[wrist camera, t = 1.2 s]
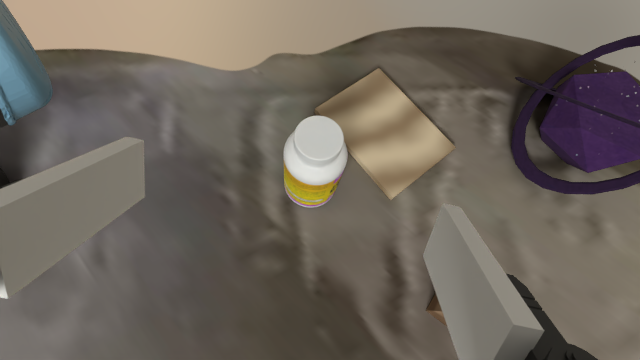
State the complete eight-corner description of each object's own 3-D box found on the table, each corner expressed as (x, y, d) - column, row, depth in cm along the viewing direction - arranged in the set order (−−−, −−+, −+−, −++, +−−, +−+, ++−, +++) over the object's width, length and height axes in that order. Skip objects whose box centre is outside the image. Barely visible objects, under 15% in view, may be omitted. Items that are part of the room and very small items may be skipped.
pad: (314, 112, 46) (315, 108, 45) (377, 72, 50) (378, 67, 49) (390, 200, 43) (392, 197, 42) (452, 150, 46) (455, 147, 45)
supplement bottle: (331, 213, 41) (349, 177, 29) (279, 203, 41) (275, 163, 29) (339, 165, 44) (358, 113, 32) (290, 155, 44) (291, 100, 32)
